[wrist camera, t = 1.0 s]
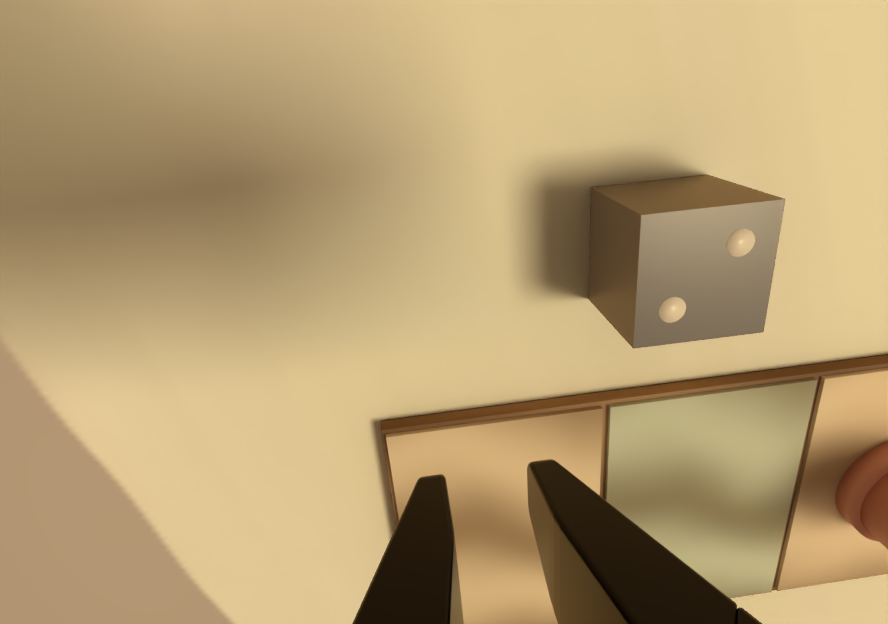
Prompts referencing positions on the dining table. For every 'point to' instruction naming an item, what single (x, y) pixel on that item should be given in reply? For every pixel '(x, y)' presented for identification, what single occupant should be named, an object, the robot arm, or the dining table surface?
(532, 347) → the dining table surface
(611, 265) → the die
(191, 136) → the dining table surface
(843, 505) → the pawn
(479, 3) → the dining table surface
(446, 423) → the board
